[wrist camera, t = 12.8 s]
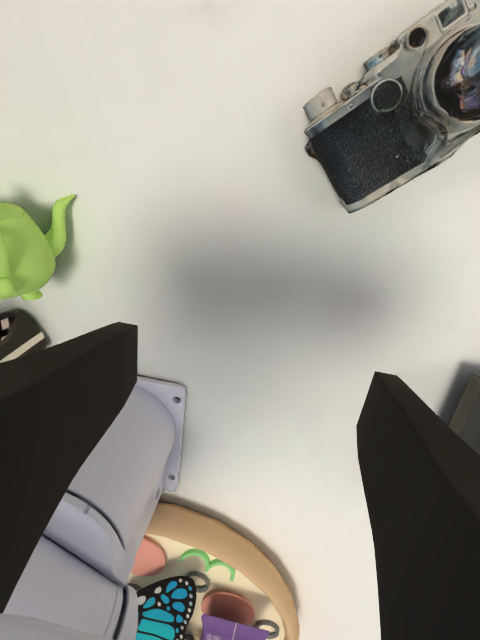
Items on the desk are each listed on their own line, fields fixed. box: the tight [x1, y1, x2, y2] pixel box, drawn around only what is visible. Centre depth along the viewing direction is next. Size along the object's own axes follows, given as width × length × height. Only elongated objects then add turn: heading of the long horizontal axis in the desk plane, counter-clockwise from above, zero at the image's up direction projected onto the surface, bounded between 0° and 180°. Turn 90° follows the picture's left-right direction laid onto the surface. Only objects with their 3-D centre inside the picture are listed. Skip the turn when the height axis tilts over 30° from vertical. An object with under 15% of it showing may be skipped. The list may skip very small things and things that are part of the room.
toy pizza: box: [126, 502, 299, 640], centre depth 33 cm, size 25×3×25 cm
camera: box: [303, 0, 480, 213], centre depth 15 cm, size 5×10×4 cm, turn 123°
